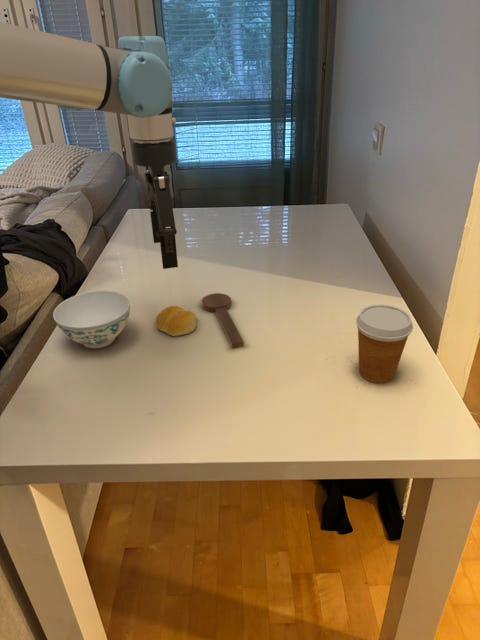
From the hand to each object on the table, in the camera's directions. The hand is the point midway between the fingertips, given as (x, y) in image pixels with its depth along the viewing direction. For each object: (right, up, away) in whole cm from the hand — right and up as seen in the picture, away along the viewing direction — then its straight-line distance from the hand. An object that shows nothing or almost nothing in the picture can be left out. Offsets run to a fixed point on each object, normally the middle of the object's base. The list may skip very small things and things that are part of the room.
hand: (165, 253), depth 92 cm
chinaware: (-15, -17, +6) cm, 24 cm away
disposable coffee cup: (+40, -23, -6) cm, 46 cm away
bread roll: (+1, -15, +10) cm, 18 cm away
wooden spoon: (+11, -13, +11) cm, 21 cm away
